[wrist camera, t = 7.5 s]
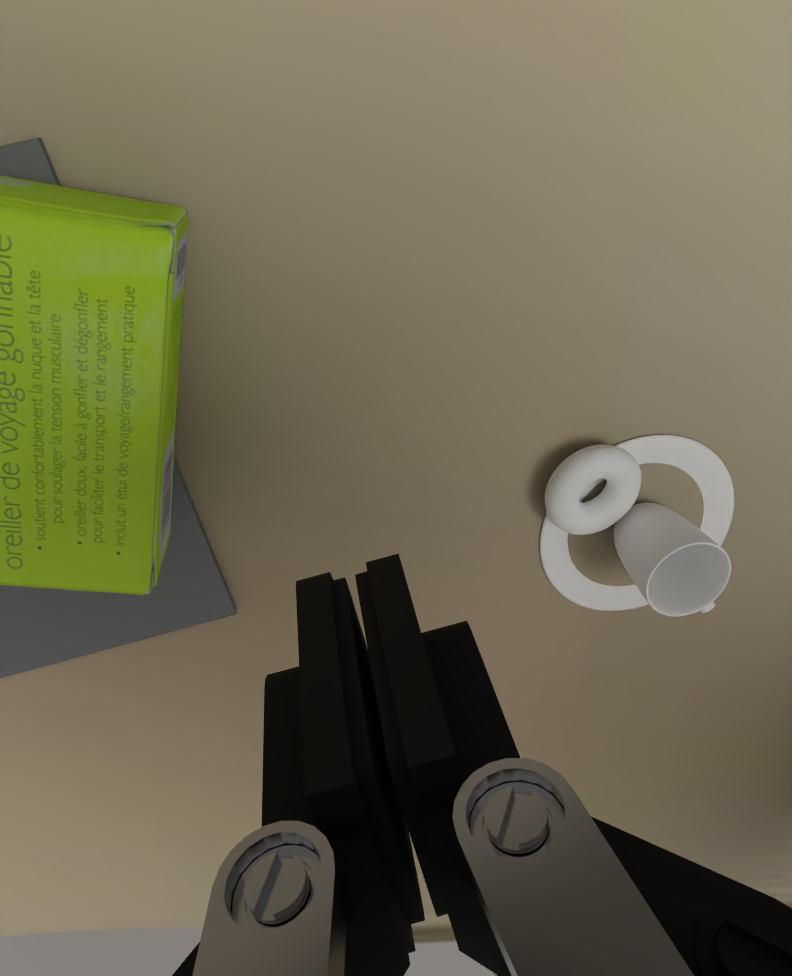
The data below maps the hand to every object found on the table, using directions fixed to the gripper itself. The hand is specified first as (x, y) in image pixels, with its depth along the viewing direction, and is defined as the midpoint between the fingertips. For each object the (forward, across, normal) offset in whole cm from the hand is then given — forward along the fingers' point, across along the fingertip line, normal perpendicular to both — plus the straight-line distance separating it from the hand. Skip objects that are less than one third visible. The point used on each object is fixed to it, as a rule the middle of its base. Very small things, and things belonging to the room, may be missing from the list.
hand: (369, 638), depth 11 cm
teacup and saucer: (+13, -12, +6) cm, 19 cm away
